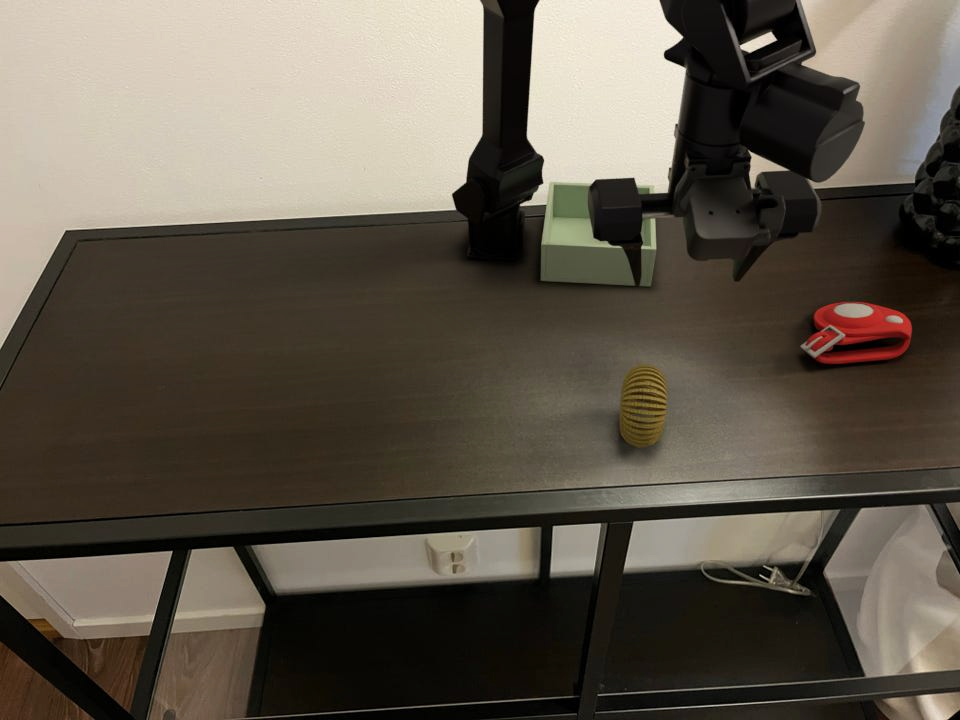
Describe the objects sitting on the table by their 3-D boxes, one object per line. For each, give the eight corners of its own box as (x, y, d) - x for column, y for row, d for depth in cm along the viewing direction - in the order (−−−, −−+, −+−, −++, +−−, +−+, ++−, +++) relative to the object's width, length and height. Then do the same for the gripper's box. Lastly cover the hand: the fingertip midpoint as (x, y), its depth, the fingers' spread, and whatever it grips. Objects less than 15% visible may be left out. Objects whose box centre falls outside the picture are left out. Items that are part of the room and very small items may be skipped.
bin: (540, 281, 91) (541, 244, 87) (548, 217, 100) (549, 181, 96) (650, 286, 89) (656, 249, 85) (648, 221, 98) (653, 185, 94)
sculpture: (619, 399, 77) (626, 345, 71) (659, 403, 77) (669, 348, 71) (616, 462, 72) (623, 408, 66) (658, 466, 71) (670, 412, 65)
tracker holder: (816, 290, 86) (916, 296, 81) (814, 325, 88) (911, 332, 83) (798, 337, 77) (909, 347, 72) (796, 374, 79) (904, 386, 74)
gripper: (607, 190, 54) (595, 345, 65) (872, 178, 53) (813, 336, 64) (591, 115, 61) (583, 264, 72) (821, 103, 61) (777, 256, 72)
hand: (686, 281), depth 70 cm, fingers open, 9 cm apart
